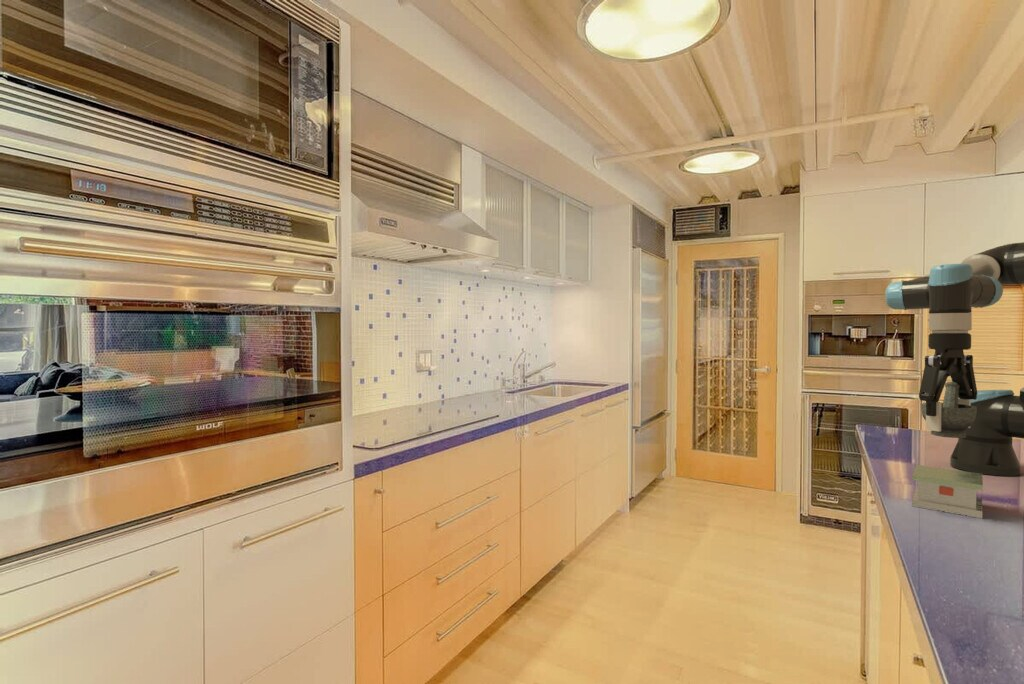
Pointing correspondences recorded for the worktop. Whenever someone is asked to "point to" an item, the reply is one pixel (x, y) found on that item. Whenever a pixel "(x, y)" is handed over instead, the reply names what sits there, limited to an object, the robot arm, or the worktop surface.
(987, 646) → the worktop surface
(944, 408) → the mortar and pestle
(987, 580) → the worktop surface
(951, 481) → the stand
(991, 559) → the worktop surface
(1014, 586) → the worktop surface
